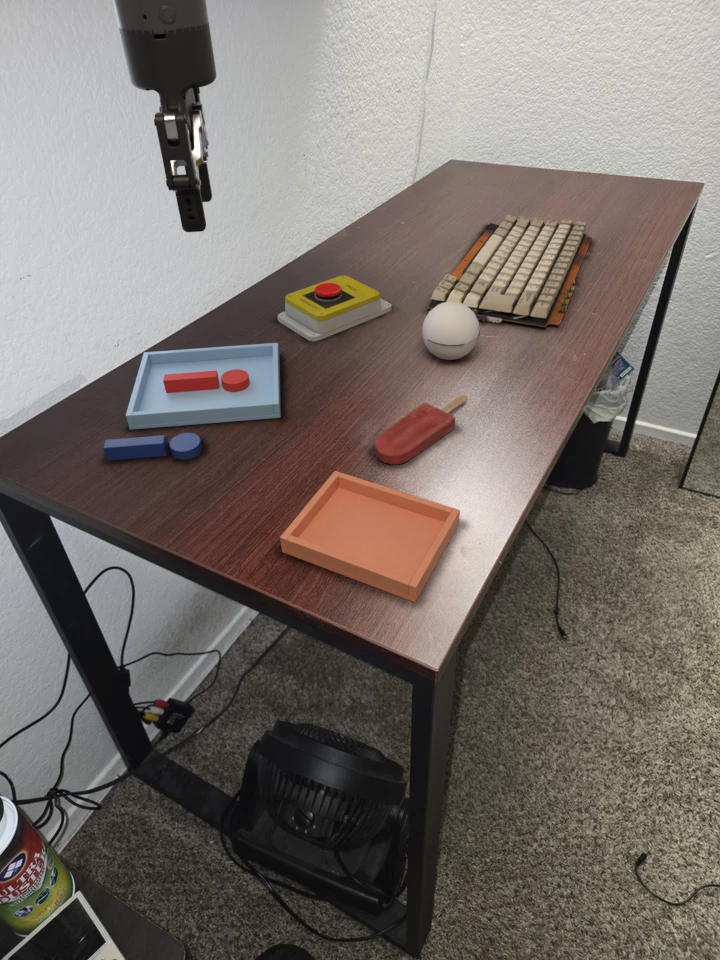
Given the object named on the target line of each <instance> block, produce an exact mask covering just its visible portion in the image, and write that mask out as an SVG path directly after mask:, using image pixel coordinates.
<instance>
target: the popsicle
mask: <svg viewBox="0 0 720 960" xmlns="http://www.w3.org/2000/svg"><path fill="white" fill-rule="evenodd" d="M468 397H469V396H468V395H466V394H461V395H459V396H458V397H456V398H455V399H454V400H452V401H451V402H449V403H448V404H447V405H444V407H443V408H441V409H440V408H438V407H436V406H434V405H432V404H431V403H427V402H422V403H421V404H419V405H418V406H417V407H415V408H414V409H413V410H412V411H410V412H409V413H408V414H406V415H405V416H404V417H402V418H401V419H400V420H399V421H397V422H395V424H393V425H392V426H390V427H389V428H387V430H385V431H384V432H382V433H381V434H380V435H379V436H377V438H376V439H375V440H374V441H375V442H374V455H375V456H376V458H377V459H378V460H379V461H380V462H382V463H384V464H388V465H401V464H404V463H407V462H408V461H411V459H413V458H415V457H416V456H418V455H419V454H420V453H421V452H423V451H425V450H427V448H429V447H430V446H432V445H433V444H435V443H436V442H438V441H439V440H440V439H442V438H444V436H446V435H447V434H448V433H449V434H450V432H451V431H453V430H454V429H455V424H456V417H455V416H454V415H453V414H451V412H452V411H454V410H455V409H457V408H458V407H459V406H461V405H462V404H463V403H464V402H466V401H467V400H468Z"/></svg>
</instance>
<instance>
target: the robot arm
mask: <svg viewBox="0 0 720 960" xmlns="http://www.w3.org/2000/svg"><path fill="white" fill-rule="evenodd" d="M112 4H113V7H114V12H115V18H116V21H117V26H118V30H119V34H120V40H121V43H122V44H121V45H122V49H123V53H124V58H125V63H126V67H127V71H128V77H129V80H130V82H131V84H132V86H133V87H135V88H136V89H139V90H142V91H146V92H147V91H154V92H156V93H157V94H158V96H159V104H160V105H159V106H158V109H159V111H157V112H155V113H154V119H153V123H154V126H155V128H156V133H157V139H158V144H159V148H160V152H161V158H162V159H161V160H162V162H163V163H162V164H163V170H164V174H165V184H166V187H167V188H168V191H172V192H174V194H175V199H176V204H177V209H178V213H179V220H180V225H181V229H182V230H183V231H184V232H185V233H198V232H200V233H201V232H204V231H205V230H206V228H207V220H206V214H205V209H204V204H203V203H209V202H211V201H212V199H213V192H212V186H211V179H210V174H209V167H208V161H209V159H208V158H209V151H207V150H208V149H209V139H208V131H207V130H208V129H207V127H206V115H205V108H204V104H203V103H201V96H200V94H201V90H200V88H204V87H207V86H209V85H211V84H213V83H214V82H215V81H216V79H217V70H216V69H217V68H216V62H215V54H214V47H213V41H212V35H211V27H210V21H209V14H208V8H207V7H208V5H207V0H112ZM180 167H184V171H185V174H178V168H180Z"/></svg>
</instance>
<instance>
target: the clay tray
mask: <svg viewBox="0 0 720 960" xmlns="http://www.w3.org/2000/svg"><path fill="white" fill-rule="evenodd" d="M460 515H461V510H460V509H458V508H455V507H453V506H448V505H446V504H442V503H439V502H436V501H433V500H429V499H426V498H423V497H420V496H416V495H415V494H410V493H407V492H404V491H402V490H398V489H395V488H392V487H388V486H385V485H381V484H379V483H375V482H372V481H369V480H365V479H363V478H359V477H356V476H353V475H350V474H347V473H344V472H340V471H338V470H334V471H333V472H332V474H331V475H330V476H329V477H328V479H327V480H325V482H324V483H323V484H322V486H321V487H320V488H319V489H318V491H317V492H316V493H315V494H314V495H313V496H312V498H311V499H310V500H309V502H308V503H307V504H306V505H305V506H304V508H303V509H302V510H301V511H300V512H299V513H298V515H297V516H296V517H295V518H294V519H293V521H292V522H291V523H290V524H289V525H288V527H287V528H286V529H285V530H284V531H283V533H282V534H281V535H280V537H279V540H280V546H281V553H283V554H286V555H289V556H291V557H294V558H296V559H299V560H302V561H304V562H307V563H309V564H312V565H315V566H318V567H320V568H323V569H326V570H328V571H330V572H333V573H335V574H339V575H342V576H344V577H346V578H350V579H352V580H354V581H357V582H359V583H362V584H365V585H368V586H371V587H373V588H376V589H378V590H381V591H384V592H387V593H388V594H390V595H391V594H392V595H394V596H398V597H399V598H402V599H405V600H407V601H410V602H413V603H416V602H417V601H418V598H419V596H420V595H421V594H422V591H423V590H424V588H425V586H426V584H427V582H428V581H429V579H430V578H431V575H432V573H433V572H434V570H435V568H436V566H437V565H438V563H439V561H440V559H441V558H442V555H443V554H444V552H445V550H446V548H447V547H448V545H449V543H450V542H451V539H452V538H453V536H454V535H455V532H456V531H457V529H458V527H459V525H460V523H459V522H460Z"/></svg>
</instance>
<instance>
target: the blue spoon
mask: <svg viewBox="0 0 720 960" xmlns="http://www.w3.org/2000/svg"><path fill="white" fill-rule="evenodd" d="M102 449H103V451H104V454H105V458H106V461H108V462H111V461H123V460H124V461H125V460H134V459H147V458H159V457H167V456H168V452H169V450H170V454H171V456H172V457H173V458H174V459H177V460H179V461H180V460H181V461H185V460H186V461H187V460H191V459H194V458H196V457H198V456H199V455H201V453H202V452H203V444H202V440H201V437H200V436H199V435H198V434H197V433H193V432H184V433H183V432H182V433H180V434H179V433H178V434H177V435H175V436H174V437H172V438H171V439H170V441H169V444H168V441H167V438H166V435H165V434H163V435H162V434H161V435H151V436H149V435H148V436H139V437H138V436H137V437H136V436H135V437H126V438H125V437H124V438H113V439H111V438H110V439H105V441H104V444H103V448H102Z"/></svg>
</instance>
